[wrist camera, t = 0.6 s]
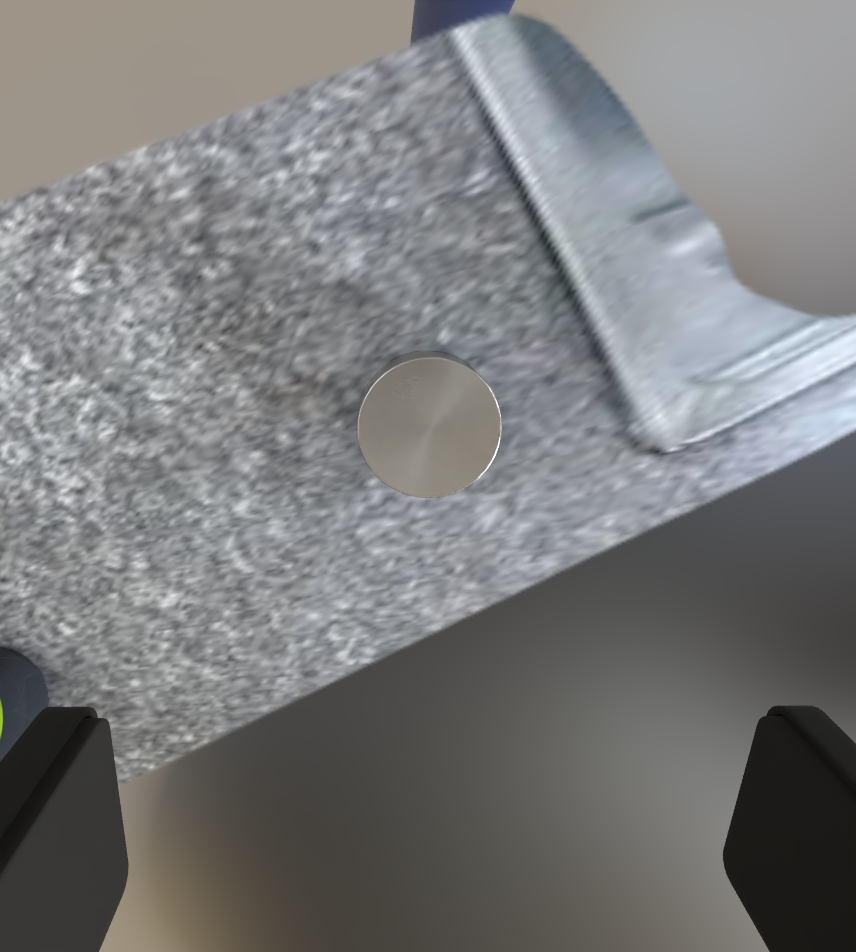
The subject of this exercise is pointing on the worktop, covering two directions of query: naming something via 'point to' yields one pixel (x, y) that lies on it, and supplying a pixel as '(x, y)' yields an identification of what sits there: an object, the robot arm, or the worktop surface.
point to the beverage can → (18, 697)
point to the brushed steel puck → (428, 424)
